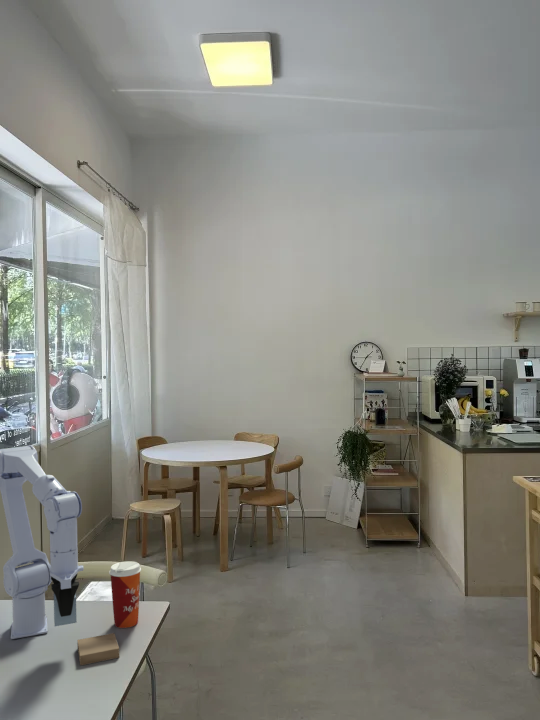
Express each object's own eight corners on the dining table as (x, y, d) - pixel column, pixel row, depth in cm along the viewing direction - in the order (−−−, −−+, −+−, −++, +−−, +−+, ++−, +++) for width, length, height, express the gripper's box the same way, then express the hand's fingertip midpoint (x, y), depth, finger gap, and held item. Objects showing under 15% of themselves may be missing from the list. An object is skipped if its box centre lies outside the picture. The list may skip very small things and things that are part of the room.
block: (54, 618, 130) (53, 593, 130) (75, 614, 132) (74, 590, 132) (54, 626, 126) (54, 600, 126) (76, 622, 128) (76, 597, 128)
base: (77, 648, 130) (77, 639, 131) (114, 641, 134) (114, 632, 134) (80, 665, 123) (80, 655, 123) (119, 657, 126) (119, 648, 126)
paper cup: (134, 631, 139) (133, 571, 139) (104, 629, 140) (103, 570, 140) (147, 617, 146) (146, 560, 147) (119, 615, 148) (118, 559, 148)
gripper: (85, 555, 124) (86, 620, 124) (80, 538, 138) (82, 596, 137) (49, 560, 122) (51, 626, 121) (48, 542, 135) (50, 601, 135)
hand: (65, 611), depth 129 cm, fingers closed on block, 4 cm apart
